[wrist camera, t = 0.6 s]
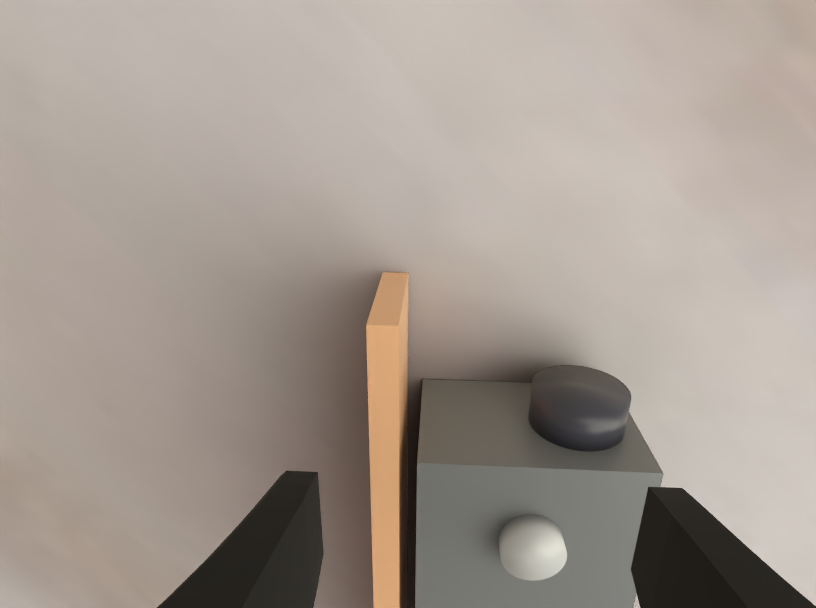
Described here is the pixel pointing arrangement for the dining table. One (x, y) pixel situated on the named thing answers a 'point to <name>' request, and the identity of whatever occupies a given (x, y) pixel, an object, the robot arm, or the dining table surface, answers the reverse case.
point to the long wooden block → (388, 438)
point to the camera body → (529, 492)
